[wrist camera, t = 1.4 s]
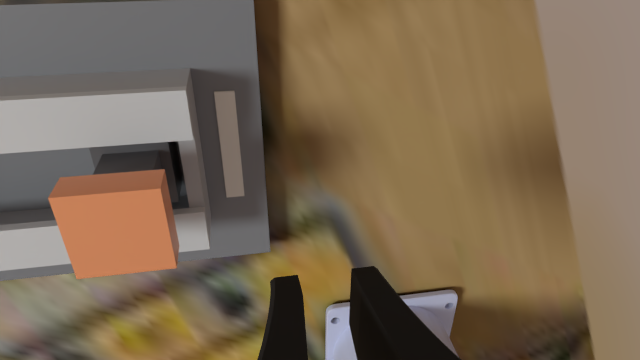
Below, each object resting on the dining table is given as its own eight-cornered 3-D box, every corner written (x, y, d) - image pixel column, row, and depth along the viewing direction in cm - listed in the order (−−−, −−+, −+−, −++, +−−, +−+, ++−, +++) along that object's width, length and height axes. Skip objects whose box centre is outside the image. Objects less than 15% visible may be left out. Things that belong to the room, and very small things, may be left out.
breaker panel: (268, 239, 24) (274, 285, 22) (-75, 274, 22) (-120, 332, 19) (252, -8, 18) (257, 11, 15) (-230, 6, 16) (-331, 31, 13)
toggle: (187, 183, 21) (176, 268, 16) (110, 190, 20) (76, 279, 16) (175, 116, 19) (160, 188, 14) (92, 121, 19) (48, 198, 14)
